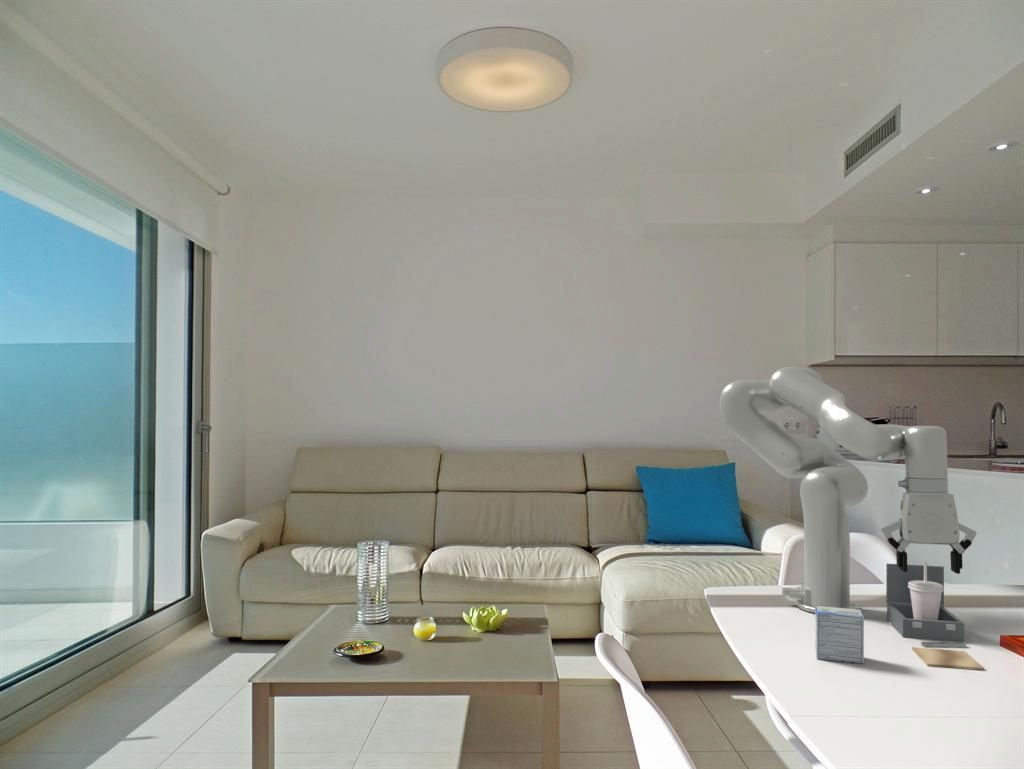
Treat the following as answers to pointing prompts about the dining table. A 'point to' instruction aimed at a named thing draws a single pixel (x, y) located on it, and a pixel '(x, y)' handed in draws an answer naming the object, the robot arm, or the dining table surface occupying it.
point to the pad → (947, 658)
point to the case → (902, 605)
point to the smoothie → (925, 597)
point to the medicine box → (839, 634)
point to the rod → (943, 644)
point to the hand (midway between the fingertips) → (929, 571)
